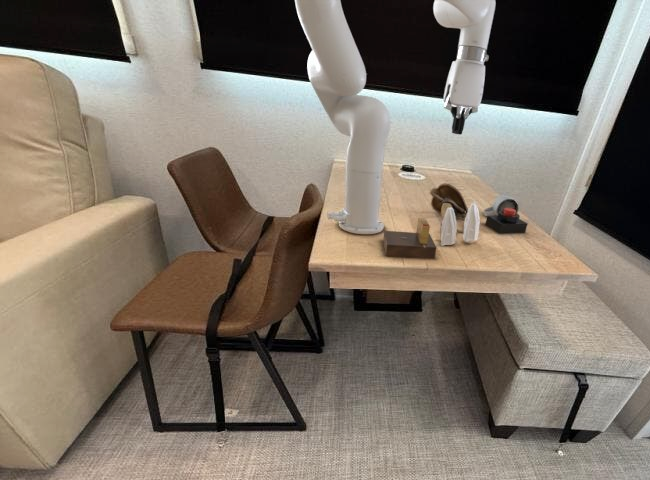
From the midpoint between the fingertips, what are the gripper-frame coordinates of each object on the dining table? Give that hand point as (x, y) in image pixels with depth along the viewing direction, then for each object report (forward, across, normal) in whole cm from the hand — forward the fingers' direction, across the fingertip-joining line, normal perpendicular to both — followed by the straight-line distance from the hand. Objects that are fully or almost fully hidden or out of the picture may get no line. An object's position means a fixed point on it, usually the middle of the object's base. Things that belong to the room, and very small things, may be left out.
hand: (456, 133), depth 97 cm
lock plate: (+25, +21, +25) cm, 41 cm away
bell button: (+20, -16, +13) cm, 29 cm away
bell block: (+25, -16, +13) cm, 33 cm away
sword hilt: (+25, +2, +8) cm, 26 cm away
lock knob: (+22, +20, +26) cm, 39 cm away
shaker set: (+25, +6, +22) cm, 34 cm away
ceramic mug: (+25, -22, +2) cm, 34 cm away
